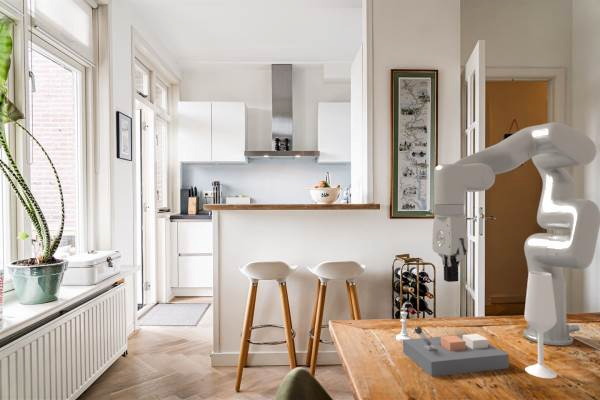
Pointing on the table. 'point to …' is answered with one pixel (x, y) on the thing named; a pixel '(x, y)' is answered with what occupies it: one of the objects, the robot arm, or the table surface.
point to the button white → (475, 341)
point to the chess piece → (403, 327)
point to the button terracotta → (453, 343)
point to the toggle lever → (422, 336)
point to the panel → (453, 357)
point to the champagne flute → (540, 316)
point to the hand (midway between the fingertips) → (451, 280)
